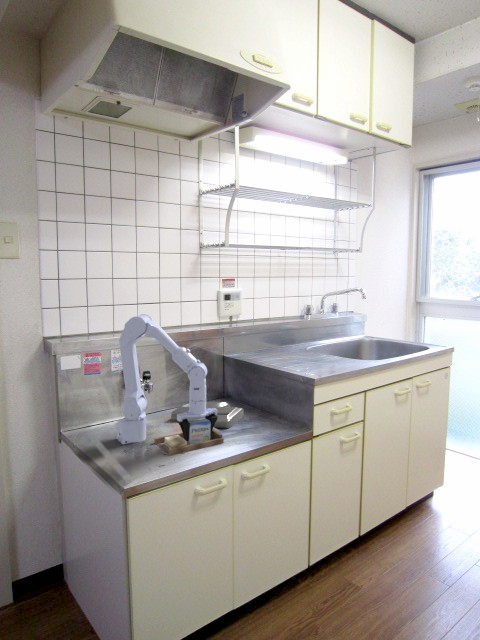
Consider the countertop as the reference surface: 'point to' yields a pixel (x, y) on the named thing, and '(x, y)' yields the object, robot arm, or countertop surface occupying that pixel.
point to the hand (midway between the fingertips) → (197, 438)
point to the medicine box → (199, 430)
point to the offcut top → (175, 441)
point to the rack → (216, 440)
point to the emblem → (224, 413)
